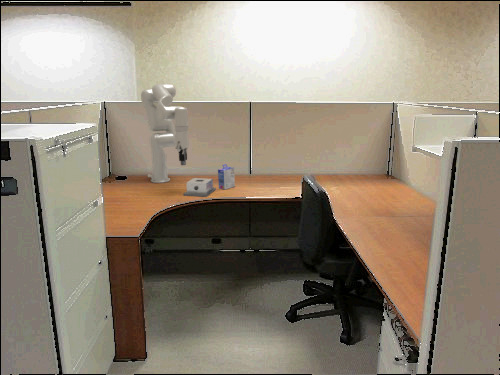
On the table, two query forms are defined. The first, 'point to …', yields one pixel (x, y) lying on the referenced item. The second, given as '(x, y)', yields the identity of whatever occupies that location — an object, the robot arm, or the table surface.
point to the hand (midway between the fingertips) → (183, 160)
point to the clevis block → (199, 187)
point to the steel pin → (185, 159)
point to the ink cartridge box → (226, 177)
